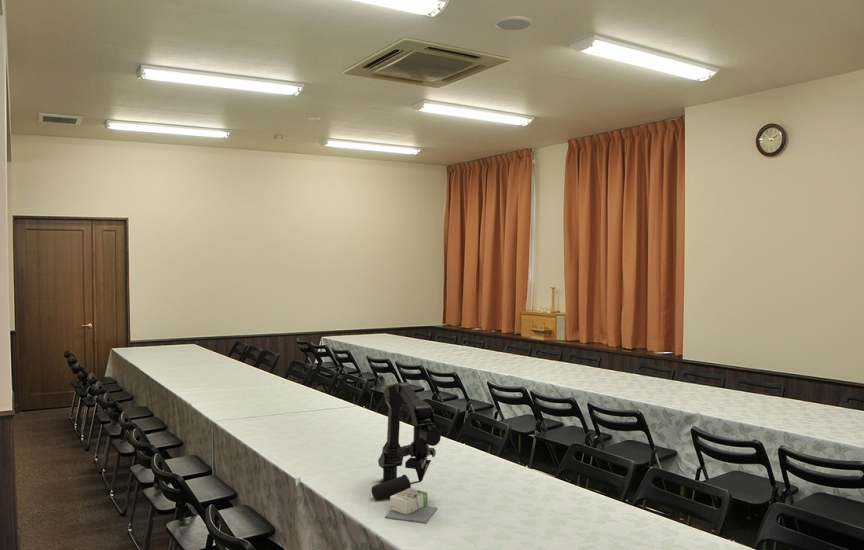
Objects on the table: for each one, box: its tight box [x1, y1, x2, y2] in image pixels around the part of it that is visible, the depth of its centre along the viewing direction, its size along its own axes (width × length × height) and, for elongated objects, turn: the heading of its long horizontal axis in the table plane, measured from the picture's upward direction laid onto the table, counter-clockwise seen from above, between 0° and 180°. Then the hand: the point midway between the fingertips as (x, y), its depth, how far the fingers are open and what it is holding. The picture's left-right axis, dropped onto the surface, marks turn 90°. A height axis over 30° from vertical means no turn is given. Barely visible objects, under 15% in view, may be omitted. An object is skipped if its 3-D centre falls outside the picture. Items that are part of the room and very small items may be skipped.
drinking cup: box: [371, 474, 422, 500], centre depth 245 cm, size 8×8×20 cm
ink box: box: [389, 487, 429, 515], centre depth 230 cm, size 8×5×12 cm
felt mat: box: [384, 505, 438, 524], centre depth 226 cm, size 14×15×1 cm
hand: (420, 480), depth 235 cm, fingers closed
